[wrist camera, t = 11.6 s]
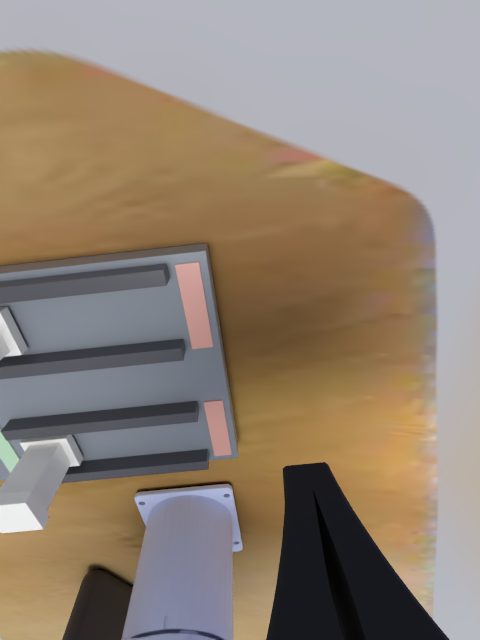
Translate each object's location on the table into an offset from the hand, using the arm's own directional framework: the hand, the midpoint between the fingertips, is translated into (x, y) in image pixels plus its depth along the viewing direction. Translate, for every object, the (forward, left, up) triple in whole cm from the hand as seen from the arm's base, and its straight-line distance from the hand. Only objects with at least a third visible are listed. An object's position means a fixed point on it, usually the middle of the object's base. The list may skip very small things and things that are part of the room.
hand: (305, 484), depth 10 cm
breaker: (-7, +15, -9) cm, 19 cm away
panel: (-2, +12, -10) cm, 16 cm away
